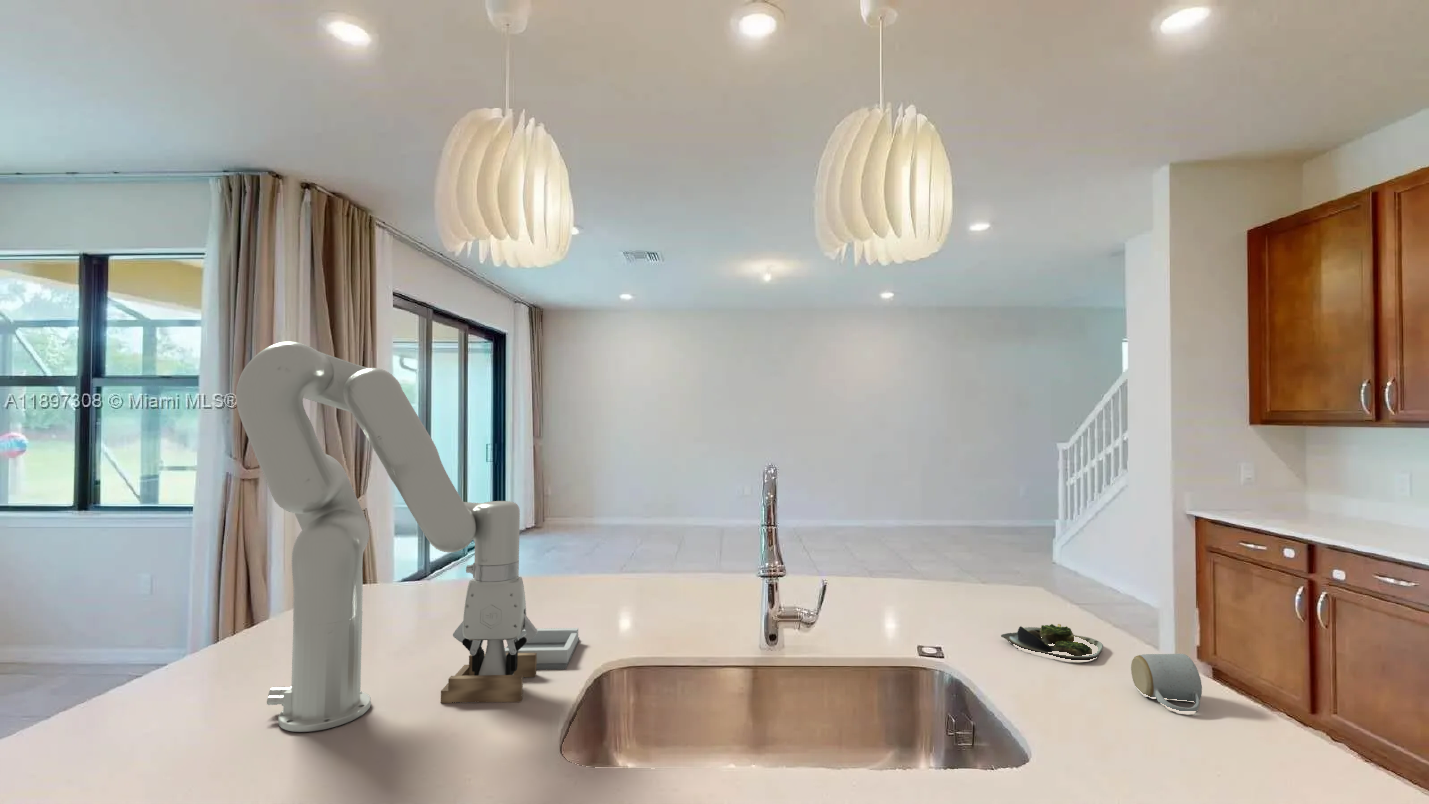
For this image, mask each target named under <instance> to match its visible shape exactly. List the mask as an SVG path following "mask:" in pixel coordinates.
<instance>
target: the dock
mask: <svg viewBox="0 0 1429 804" xmlns="http://www.w3.org/2000/svg"><path fill="white" fill-rule="evenodd" d="M535 628H536V627H535ZM536 629H537V631H538V632H537V634H536V636H535V637H533V638H532V639H531V640H529V641H528V642H527V643H525V645H524V646H523V647H522V648H521V649H519V650H518V653H537V664H536V671H537V670H539V671H541V670H546V669H547V670H548V671H549V670H566V669H567V667H568V666H569V663H570V661H571V659H572V656H573V655H574V653H575V650H576V648H577V646H578V644H579V641H580V637H579V627H556V628H555V627H554V628H552V627H549V628H548V627H547V628H543V627H540V628H539V627H538V628H536ZM525 634H526V630H525V629H524V630H523V631H522V633H521V635H520V636H519V637H518V638H519V639H520V638H521V637H522V636H524V635H525ZM504 648H505V652H506V653H509V648H508V645H507V646H506V647H504ZM547 670H546V671H547Z"/></svg>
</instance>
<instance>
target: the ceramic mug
mask: <svg viewBox="0 0 1429 804" xmlns="http://www.w3.org/2000/svg"><path fill="white" fill-rule="evenodd" d="M1130 671H1131V677H1132V681H1133V684H1134V686H1136V687H1137V688H1138V689H1139V690H1140V691H1141V692H1142V693H1143V694H1146V695H1148V696H1150V697H1156V699H1157V700H1156V701H1157V702H1158V703H1159V702H1160V703H1162V704H1164V705H1166V706H1167V707H1170V708H1172V709H1176V710H1179V711H1197V710H1198V711H1199V708H1200V700H1201V698H1202V693H1203V691H1202V690H1203V686H1202V680H1201V676H1200V673H1199V670H1198V668H1197V666H1196V664H1195V663H1194V661H1193V660H1192V658H1191V657H1189V656H1188V655H1187V654H1185V653H1146V654H1145V653H1144V654H1139V655H1138V654H1137V655H1135V656H1134V657H1133V658H1132V660H1131V665H1130ZM1136 687H1135V688H1136ZM1164 698H1167V699H1177V700H1187V701H1194V702H1195V703H1194V705H1193V706H1191V707H1182V706H1178V705H1175V704H1173V703H1171V702H1169V701H1167V700H1165V699H1164ZM1160 703H1159V704H1160ZM1198 711H1197V712H1198Z"/></svg>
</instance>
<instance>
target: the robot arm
mask: <svg viewBox="0 0 1429 804" xmlns="http://www.w3.org/2000/svg"><path fill="white" fill-rule="evenodd" d="M235 391H236V392H235V395H236V397H235V400H236V407H237V408H236V409H237V412H238V415H239V418H240V421H241V423H242V426H243V429H244V431H245V433H246V436H247V438H248V440H249V443H250V445H251V448H252V451H253V454H254V456H255V458H256V461H257V463H258V466H259V467H260V470H261V472H262V474H263V476H264V478H265V481H266V483H267V486H268V489H269V492H270V494H271V497H272V499H273V500H274V502H275V504H277V505H278V507H280V508H281V509H283V510H284V511H286V512H288V513H292V514H294V515H295V517H296V519H297V522H298V524H299V526H300V528H301V531H300V533H299V534H298V536H297V537H296V539H295V542H294V544H293V547H292V552H291V573H292V587H293V588H292V589H293V591H292V593H293V598H292V599H293V600H292V601H293V603H292V604H293V605H292V606H293V607H292V610H293V611H292V622H293V623H292V651H291V653H292V654H291V655H292V658H291V659H292V661H291V686H289V687H287V686H273V687H271V688H270V689H269V692H268V697H267V699H266V705H268V706H277V705H281V706H282V710H281V711H280V713H279V714H278V719H277V720H278V721H277V723H278V726H279V727H280V728H281V729H282V730H285V731H289V732H295V733H307V732H317V731H322V730H324V731H325V730H329V729H332V728H335V727H338V726H342V725H345V724H347V723H350V722H353V721H354V720H356V719H358V718H359V717H361V716H363V715H364V714H366V712H367V711H369V709H370V707H371V706H372V705H371V704H372V698H371V696H370V695H369V694H368V693H366V692H364V691H361V685H362V683H361V681H362V676H361V675H362V645H363V644H362V642H363V641H362V640H363V601H364V599H363V597H364V596H363V593H364V592H363V591H364V589H363V581H364V580H363V577H364V576H363V561H364V559H363V558H364V553H365V551H366V548H367V546H368V543H369V539H370V526H369V523H368V521H367V519H366V516H365V514H364V511H363V509H362V507H361V504H360V502H359V500H358V498H357V495H356V492H355V490H354V488H353V486H352V483H351V481H350V479H349V477H348V474H347V472H346V470H345V469H344V467H343V465H342V464H341V463H340V462H339V461H338V460H337V459H336V458H334V457H333V456H332V455H329V454H327V453H326V452H324V449H323V448H322V446H321V444H320V441H319V439H318V436H317V434H316V432H315V428H314V426H313V423H312V422H311V420H310V417H309V415H308V414H307V413H306V410H305V406H304V399H305V400H309V401H312V402H315V403H319V404H321V405H325V406H329V407H332V408H336V409H339V410H343V411H345V412H348V413H351V415H352V416H353V418H354V419H355V422H356V424H357V425H358V426H359V428H360V429H361V430H362V432H363V434H364V436H365V437H366V439H367V440H368V442H369V444H370V446H372V449H373V451H374V452H375V454H376V456H377V458H378V459H379V461H380V462H381V464H382V466H383V467H384V469H385V471H386V473H387V476H388V477H389V478H390V480H391V481H392V482H393V484H394V486H395V487H396V489H397V490H398V492H399V494H400V496H401V498H402V500H403V502H404V503H405V504H406V506H407V508H408V510H409V511H410V513H411V515H412V517H413V518H414V520H415V521H416V523H417V525H418V526H419V528H420V529H421V531H422V533H423V535H424V536H425V538H426V539H427V540H428V542H429V544H430V545H432V546H433V547H434V548H435V549H436V550H438V551H440V552H443V553H455V552H456V553H457V552H460V551H462V550H464V549H465V548H466V547H468V546H469V545H470V544H471V543H472V542H473V541H474V562H473V563H472V564H469V565H468V564H467V565H466V568H465V571H466V573H467V574H471V575H472V578H471V580H469V581H468V584H467V589H466V595H465V600H464V608H463V618H462V621H461V623H460V624H459V625H458V626H457V628H456V629H455V630H454V631H453V633H452V637H453V638H454V639H456V640H457V641H458V642H459V643H461V644H462V645H463V646H464V648H466V649H467V651H468V652H469V655H472V672H474V676H476V675H479V671H480V668H481V665H482V662H483V660H484V654H485V650H484V649H483V643H484V641H487V640H503V641H506V644H507V646H508V648H509V653H508V654H507V656H506V675H513V673H514V671H516V670H517V666H518V650H519V649H521V648H522V647H523V646H524V645H525V643H527V642H528V641H529V640H531V639H532V638H533V637H535V636H536V634H537V632H538V631H537V629H536V626H535V625H534V624H533V623H532V621H531V620H530V619H529V617H528V616H527V601H526V594H525V593H526V592H525V585H524V581H523V577H522V576H519V574H520V569H519V568H520V526H521V525H520V521H521V520H520V518H521V517H520V515H521V514H520V512H521V511H520V507H519V505H518V503H516V502H513V501H510V500H509V501H508V500H496V501H495V500H493V501H486V502H470V501H469V502H468V501H464V500H463V499H462V497H461V496H460V494H459V492H458V491H457V489H456V488H455V485H454V484H453V482H452V481H451V478H450V476H449V475H448V473H447V471H446V469H445V467H444V465H443V463H442V460H441V458H440V455H439V454H440V453H439V451H438V449H437V446H436V444H435V443H434V441H433V439H432V438H431V435H430V434H429V432H428V431H427V428H426V427H425V425H424V424H423V422H422V421H421V419H420V417H419V416H418V414H417V412H416V411H415V409H414V407H413V405H412V404H411V401H409V398H408V396H407V395H406V394H405V391H404V390H403V388H402V385H401V384H400V382H399V380H398V379H397V378H396V377H395V376H394V375H393V374H392V373H391V372H389V371H387V370H385V369H384V368H383V369H382V368H377V367H368V366H367V367H366V366H363V365H360V364H356V363H353V362H350V361H347V360H345V359H342V358H338V357H335V356H333V355H330V354H327V353H324V352H322V351H319V350H317V349H316V348H313V347H312V346H309V345H308V344H305V343H302V342H298V341H281V342H277V343H274V344H271V345H269V346H267V347H266V348H264V349H262V350H261V351H259V352H258V353H257V354H256V355H254V356H253V357H252V358H251V360H250V361H249V362H248V363H247V364H246V365H245V366H244V368H243V370H242V371H241V374H240V376H239V379H238V382H237V385H236V390H235ZM524 629H525V630H526V634H525V635H524V636H522V637H521V638H520V639H519V638H518V637H519V636H520V635H521V633H522V631H523V630H524Z"/></svg>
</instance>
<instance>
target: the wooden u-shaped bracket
mask: <svg viewBox="0 0 1429 804" xmlns="http://www.w3.org/2000/svg"><path fill="white" fill-rule="evenodd" d="M507 654H508V653H506V655H507ZM484 657H485V653H484ZM536 664H537V653H518V666H517V670H516V671H514V673H513V674H514V675H476V676H474V672H472V655H471V654H469V655H468V664H463V666H462V667H461V668H460V669H459V670H458V671H457V672H456V673H455V675H450V676H449V678H448V679H447V680H448V682H447V684H446V685H445V686H444V687H443V688H442V689H441V690H440V704H457V703H456V702H460V703H461V702H462V703H461V704H463V702H464V703H465V702H466V703H465V704H467V702H476V703H519V702H520V703H521V702H522V700H523V697H524V695H523V689H524V688H523V687H524V686H523V685H524V684H523V683H524V682H523V681H524V680H523V678H535V677H536V676H537V670H536ZM452 702H453V703H452ZM454 702H455V703H454ZM460 703H459V704H460Z"/></svg>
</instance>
